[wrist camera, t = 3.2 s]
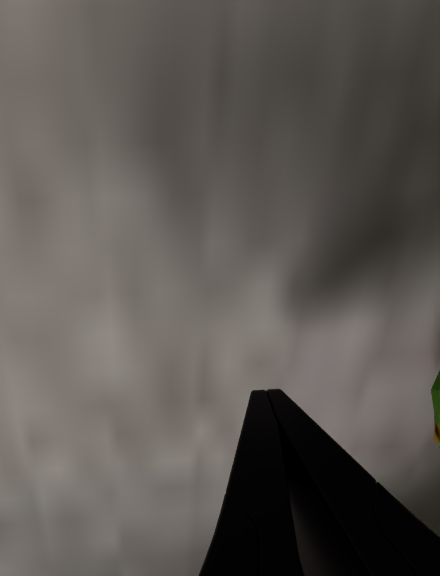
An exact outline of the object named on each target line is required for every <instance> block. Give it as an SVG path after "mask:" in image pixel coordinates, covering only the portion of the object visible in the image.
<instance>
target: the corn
mask: <svg viewBox="0 0 440 576" xmlns="http://www.w3.org/2000/svg"><path fill="white" fill-rule="evenodd" d="M431 393H432V400H433V407H434V417H435V433H434V440H435V441H436V442H437V444H438V445H439V447H440V371H439V373H438V375H437V378H436V380H435V382H434V384H433V386H432V389H431Z"/></svg>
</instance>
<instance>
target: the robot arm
mask: <svg viewBox="0 0 440 576" xmlns="http://www.w3.org/2000/svg"><path fill="white" fill-rule="evenodd" d="M199 576H440V537H439V536H438V535H437V534H436V533H434V532H433V531H432V530H431V529H430V528H428V527H427V526H426V525H425V524H424V523H423V522H421V521H420V520H419V519H418V518H417V517H416V516H414V515H413V514H412V513H411V512H410V511H409V510H408V509H407V508H406V507H405V506H403V505H402V504H401V503H400V502H399V501H398V500H397V499H396V498H395V497H394V496H393V495H391V494H390V493H389V492H388V491H387V490H386V489H385V488H384V487H383V486H382V485H381V484H380V483H379V482H376V480H375V479H374V478H373V477H372V476H371V475H370V474H369V473H368V472H367V471H366V470H365V469H364V468H363V467H362V466H361V465H360V464H359V463H358V462H357V461H356V460H355V459H353V458H352V457H351V456H350V455H349V454H348V453H347V452H346V451H345V450H344V449H343V448H342V447H341V446H340V445H339V444H338V443H337V442H336V441H335V440H333V439H332V438H331V437H330V436H329V435H328V434H327V433H326V432H325V431H324V430H323V429H322V428H321V427H320V426H319V425H318V424H317V423H316V422H315V421H314V420H312V419H311V418H310V417H309V416H308V415H307V414H306V413H305V412H304V411H303V410H302V409H301V408H300V407H299V406H298V405H297V404H296V403H295V402H294V401H292V400H291V399H290V398H289V397H288V396H287V395H286V394H285V393H284V392H283V391H282V390H280V389H268V390H267V391H265V390H253V391H252V392H251V395H250V399H249V403H248V407H247V410H246V414H245V418H244V422H243V426H242V430H241V434H240V438H239V442H238V446H237V450H236V454H235V458H234V462H233V466H232V470H231V473H230V477H229V481H228V485H227V489H226V494H225V496H224V500H223V504H222V508H221V512H220V515H219V519H218V522H217V525H216V529H215V532H214V535H213V538H212V541H211V544H210V547H209V549H208V552H207V555H206V558H205V561H204V563H203V566H202V568H201V571H200V573H199Z"/></svg>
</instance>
